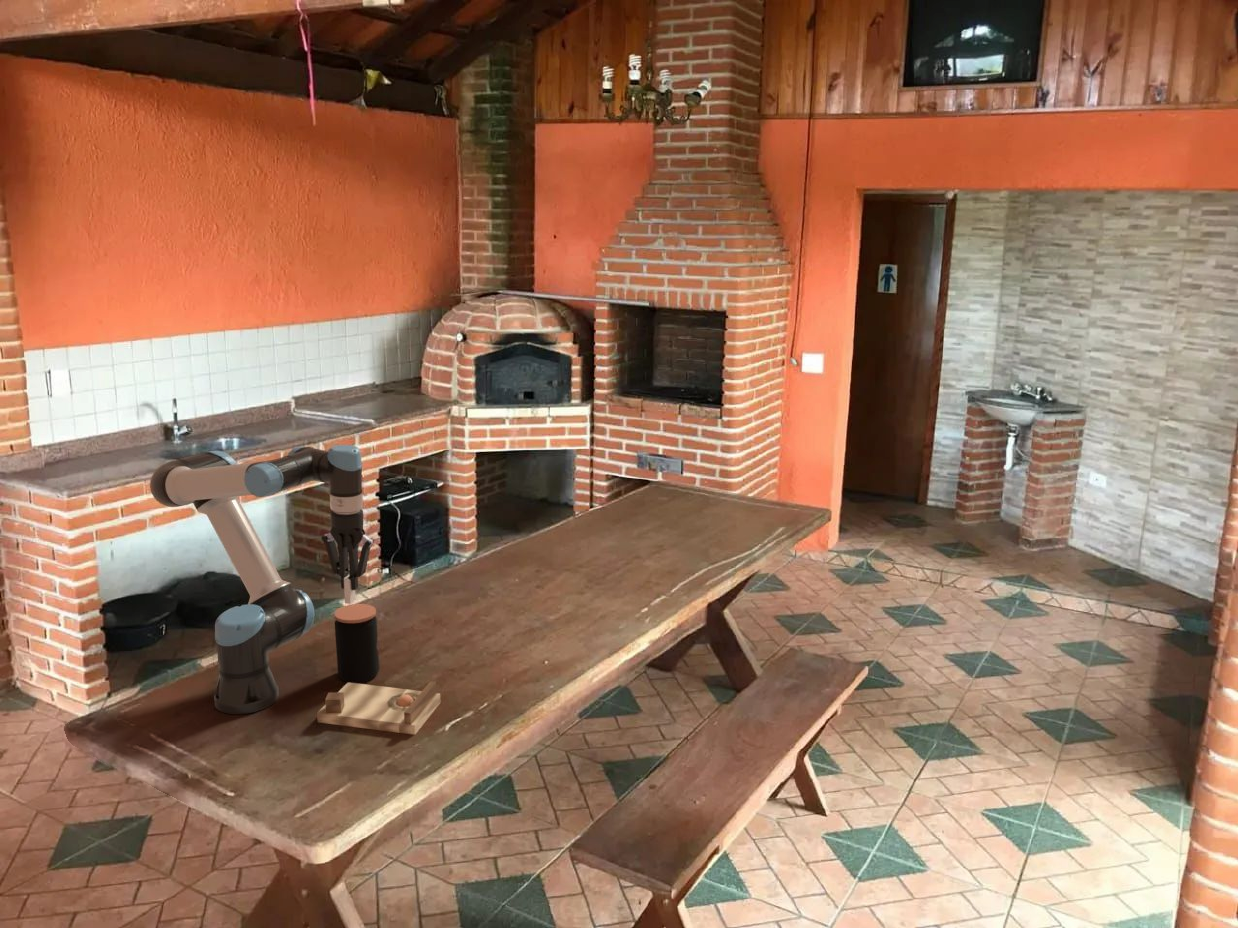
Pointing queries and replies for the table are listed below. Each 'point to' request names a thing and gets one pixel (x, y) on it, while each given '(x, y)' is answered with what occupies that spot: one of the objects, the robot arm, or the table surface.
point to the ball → (405, 701)
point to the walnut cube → (334, 702)
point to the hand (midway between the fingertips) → (350, 601)
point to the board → (383, 708)
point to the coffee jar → (356, 643)
